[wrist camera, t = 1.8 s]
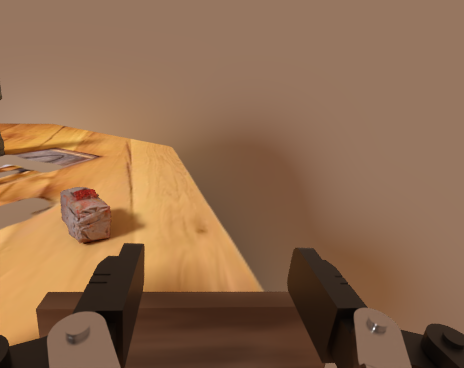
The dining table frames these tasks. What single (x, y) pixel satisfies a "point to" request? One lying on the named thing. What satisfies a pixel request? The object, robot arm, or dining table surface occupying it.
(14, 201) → the dining table surface
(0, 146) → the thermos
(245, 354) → the panel
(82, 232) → the food item
